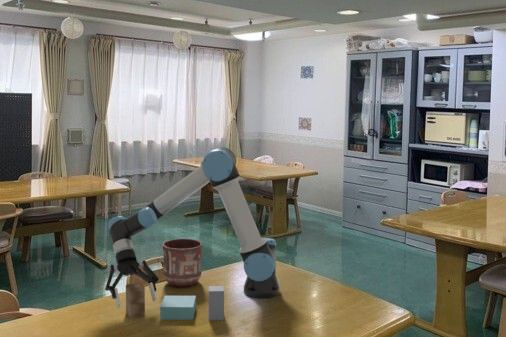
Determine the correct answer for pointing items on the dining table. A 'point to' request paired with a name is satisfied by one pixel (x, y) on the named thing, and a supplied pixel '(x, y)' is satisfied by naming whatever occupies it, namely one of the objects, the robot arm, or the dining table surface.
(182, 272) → the pottery
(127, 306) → the walnut block
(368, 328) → the dining table surface
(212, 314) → the slate block
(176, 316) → the teal base block
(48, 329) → the dining table surface
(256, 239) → the robot arm
